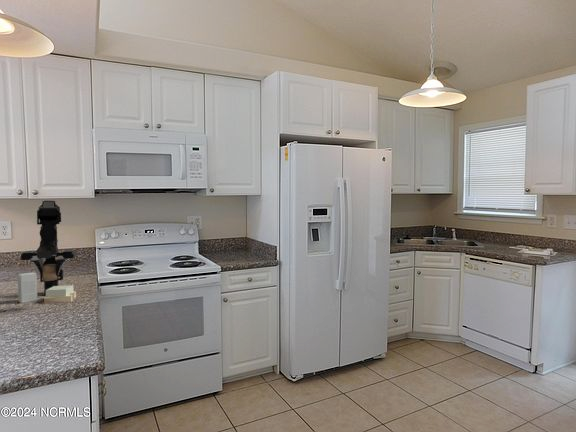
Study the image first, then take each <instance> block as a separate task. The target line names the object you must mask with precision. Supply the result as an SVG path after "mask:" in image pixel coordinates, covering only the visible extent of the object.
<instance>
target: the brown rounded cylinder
mask: <svg viewBox="0 0 576 432" xmlns="http://www.w3.org/2000/svg"><path fill="white" fill-rule="evenodd" d="M42 269H43V278H42V279H43V281H53V280H57V275H56V270H57V264H47V265H43V266H42Z"/></svg>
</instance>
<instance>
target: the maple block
mask: <svg viewBox="0 0 576 432" xmlns="http://www.w3.org/2000/svg"><path fill="white" fill-rule="evenodd" d="M73 291H74V292H73V293H71V294H69V295H67V296H61V297H46V296H45V297H44V298H43V299H44V300H43V302H44V305H49V304H59V303H60V304H61V303H71V302H73V300H74V299H75V298H76V297H77V291H76V290H73Z"/></svg>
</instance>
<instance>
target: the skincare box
mask: <svg viewBox="0 0 576 432" xmlns="http://www.w3.org/2000/svg"><path fill="white" fill-rule="evenodd" d="M37 280H38V279H37V273H36V272H34V271H32V272H26V273H19V274H17V289H18V292H17V294H18V295H17V297H18V302H19V303H21V304H24V303H30V302H34V301H35V302H36V301H38V283H37V282H38V281H37Z"/></svg>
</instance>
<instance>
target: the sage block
mask: <svg viewBox="0 0 576 432" xmlns="http://www.w3.org/2000/svg"><path fill="white" fill-rule="evenodd" d="M74 291H75V290H74V285H73V284H72V285H58V286H53V287H51V288H49V289H47V290H46V295H45V297H61V296H67V295H69V294H71V293H73V292H74Z"/></svg>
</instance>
